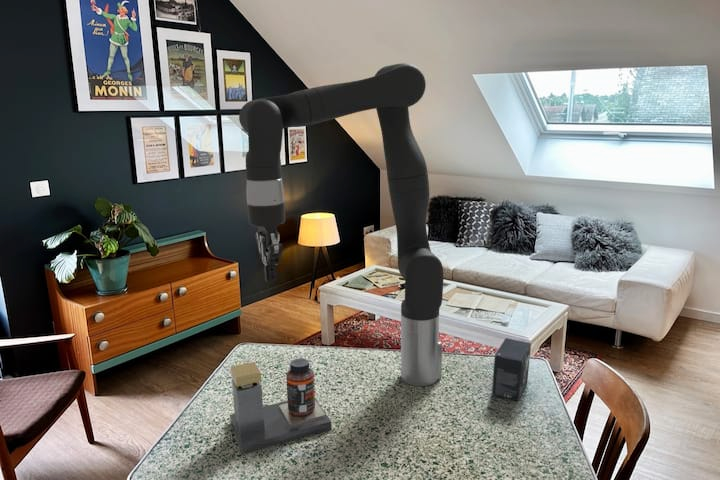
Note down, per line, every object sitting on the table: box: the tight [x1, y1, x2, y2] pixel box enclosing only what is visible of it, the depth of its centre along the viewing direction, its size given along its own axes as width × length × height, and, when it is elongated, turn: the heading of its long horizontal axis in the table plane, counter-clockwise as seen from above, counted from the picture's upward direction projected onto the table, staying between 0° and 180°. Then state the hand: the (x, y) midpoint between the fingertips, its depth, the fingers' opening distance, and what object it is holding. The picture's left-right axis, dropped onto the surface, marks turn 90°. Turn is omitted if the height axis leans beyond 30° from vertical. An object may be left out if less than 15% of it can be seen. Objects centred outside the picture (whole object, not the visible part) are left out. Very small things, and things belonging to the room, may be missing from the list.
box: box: [491, 337, 532, 402], centre depth 130 cm, size 11×7×10 cm, turn 152°
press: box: [229, 379, 332, 455], centre depth 117 cm, size 19×12×12 cm, turn 114°
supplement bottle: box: [285, 357, 316, 416], centre depth 118 cm, size 6×6×11 cm
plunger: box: [230, 361, 262, 389], centre depth 113 cm, size 5×5×12 cm
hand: (270, 281), depth 116 cm, fingers closed
